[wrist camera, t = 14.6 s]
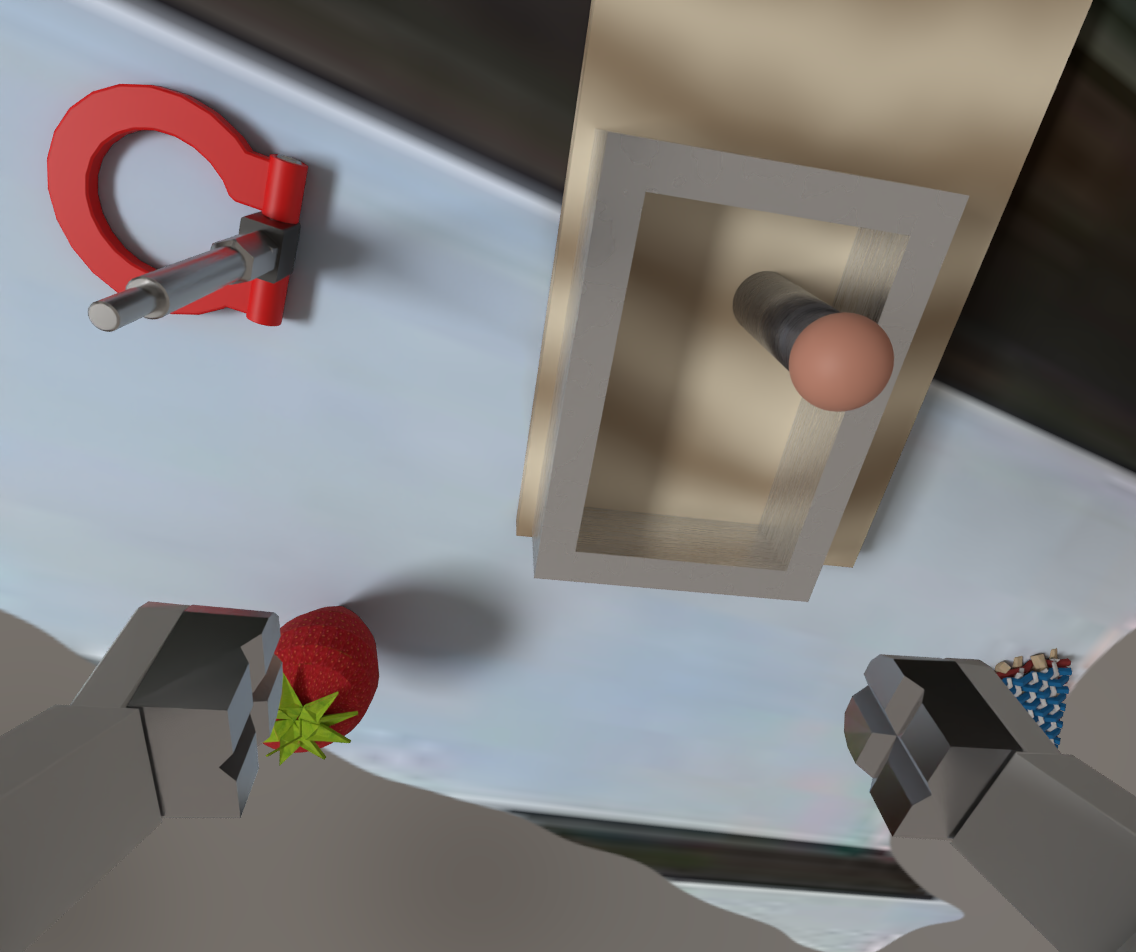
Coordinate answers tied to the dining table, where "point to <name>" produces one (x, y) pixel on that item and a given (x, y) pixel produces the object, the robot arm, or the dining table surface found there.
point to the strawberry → (323, 680)
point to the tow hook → (203, 282)
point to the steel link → (817, 437)
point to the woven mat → (1039, 689)
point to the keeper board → (784, 228)
